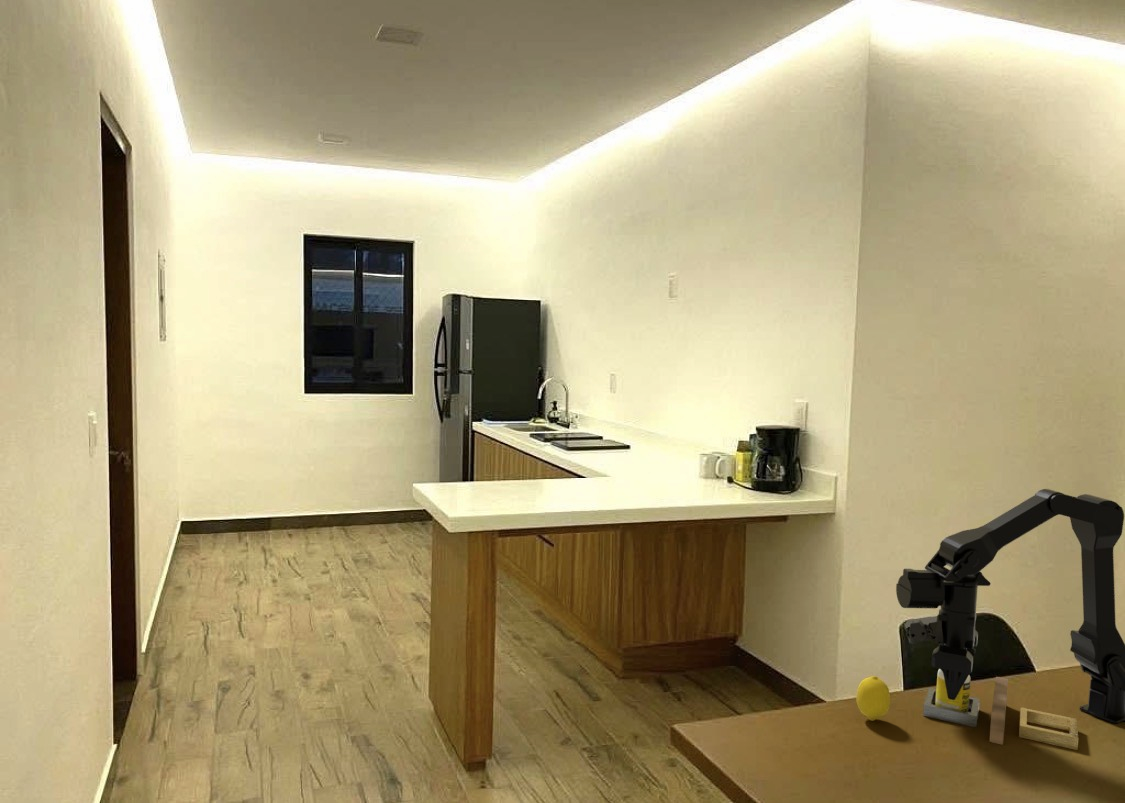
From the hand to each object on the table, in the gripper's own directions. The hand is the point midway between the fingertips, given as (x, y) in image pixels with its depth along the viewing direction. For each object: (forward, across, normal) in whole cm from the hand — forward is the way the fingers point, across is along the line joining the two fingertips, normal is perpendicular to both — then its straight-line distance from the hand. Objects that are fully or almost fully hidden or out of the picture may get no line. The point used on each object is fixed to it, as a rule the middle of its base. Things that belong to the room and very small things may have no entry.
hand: (952, 693), depth 152 cm
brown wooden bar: (+4, 0, +8) cm, 8 cm away
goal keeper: (+4, 0, +15) cm, 15 cm away
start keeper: (+4, 0, 0) cm, 4 cm away
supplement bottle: (+4, 0, 0) cm, 4 cm away
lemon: (+4, +11, -12) cm, 17 cm away
